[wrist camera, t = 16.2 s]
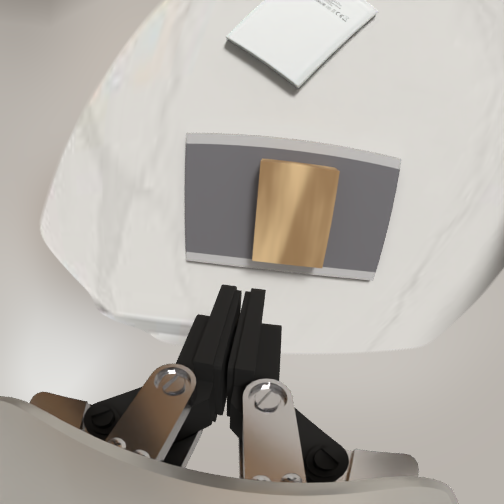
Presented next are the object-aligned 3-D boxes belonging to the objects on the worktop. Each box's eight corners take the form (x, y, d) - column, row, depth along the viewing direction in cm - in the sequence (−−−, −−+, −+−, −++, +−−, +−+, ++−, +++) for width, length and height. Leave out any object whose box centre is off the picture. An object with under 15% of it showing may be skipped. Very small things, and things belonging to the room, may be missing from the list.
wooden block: (262, 158, 23) (334, 167, 23) (254, 250, 27) (319, 257, 27) (260, 161, 21) (339, 171, 21) (252, 260, 25) (322, 268, 25)
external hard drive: (228, 41, 19) (308, -29, 15) (297, 89, 21) (374, 16, 16) (224, 36, 18) (310, -37, 13) (298, 87, 20) (379, 10, 15)
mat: (398, 158, 22) (401, 159, 21) (371, 277, 28) (373, 280, 27) (188, 132, 23) (186, 133, 23) (187, 257, 29) (186, 260, 28)
